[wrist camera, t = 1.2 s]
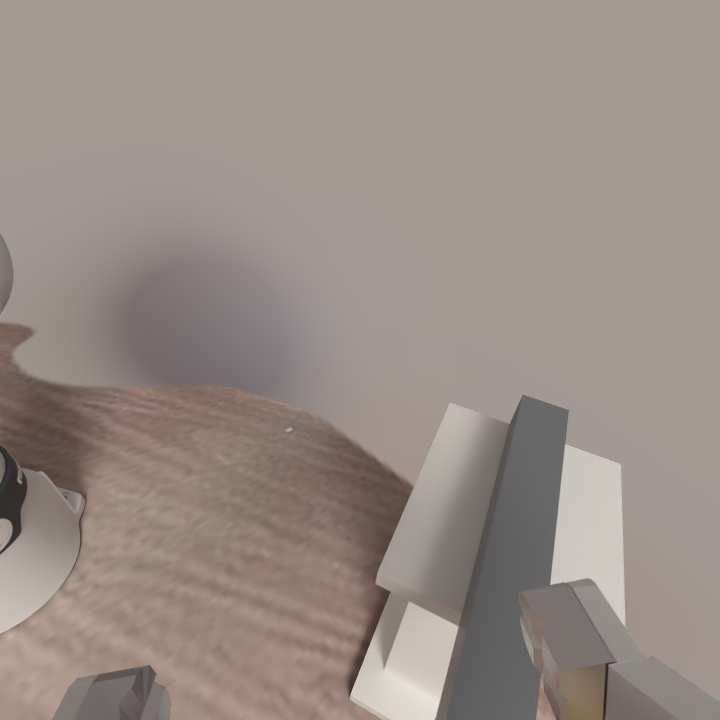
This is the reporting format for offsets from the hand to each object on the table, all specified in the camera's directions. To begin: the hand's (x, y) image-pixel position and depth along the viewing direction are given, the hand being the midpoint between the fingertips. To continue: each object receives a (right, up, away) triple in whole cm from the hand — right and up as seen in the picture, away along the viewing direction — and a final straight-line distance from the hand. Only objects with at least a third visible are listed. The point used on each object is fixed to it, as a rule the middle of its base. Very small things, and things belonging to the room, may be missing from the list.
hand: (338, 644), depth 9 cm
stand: (+8, -23, +33) cm, 41 cm away
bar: (+8, -6, +13) cm, 16 cm away
